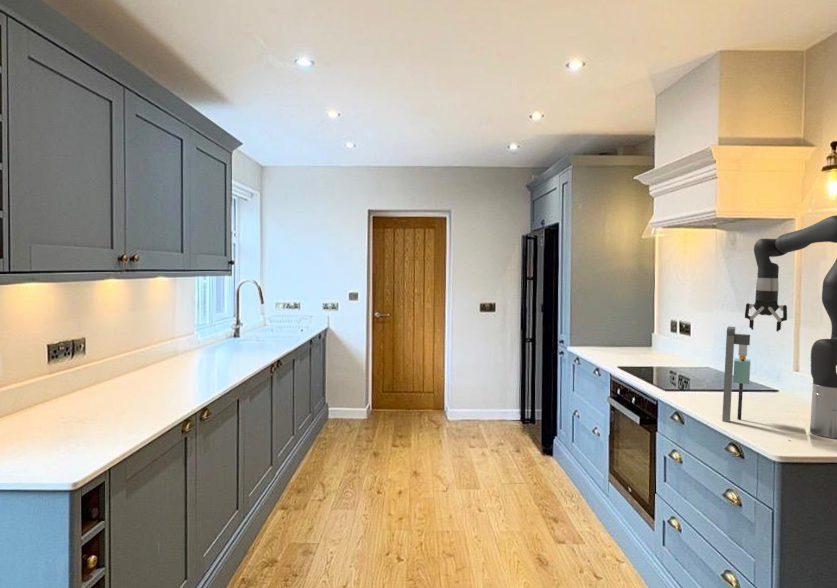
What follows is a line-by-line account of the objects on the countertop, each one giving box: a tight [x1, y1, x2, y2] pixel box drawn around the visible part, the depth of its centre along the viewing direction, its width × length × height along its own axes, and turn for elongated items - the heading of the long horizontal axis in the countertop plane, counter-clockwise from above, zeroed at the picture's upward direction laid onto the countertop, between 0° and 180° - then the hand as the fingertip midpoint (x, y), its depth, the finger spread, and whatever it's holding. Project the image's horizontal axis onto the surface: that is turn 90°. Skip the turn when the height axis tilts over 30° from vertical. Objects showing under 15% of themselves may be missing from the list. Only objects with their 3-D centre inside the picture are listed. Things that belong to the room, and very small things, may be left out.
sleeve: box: [732, 357, 751, 385], centre depth 209 cm, size 7×5×8 cm
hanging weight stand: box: [721, 326, 751, 423], centre depth 206 cm, size 8×7×35 cm
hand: (764, 330), depth 224 cm, fingers open, 8 cm apart
